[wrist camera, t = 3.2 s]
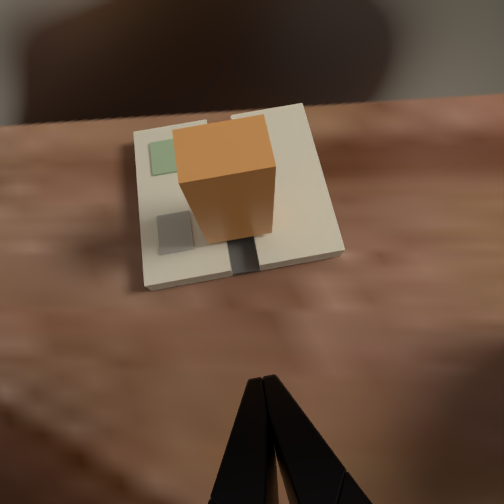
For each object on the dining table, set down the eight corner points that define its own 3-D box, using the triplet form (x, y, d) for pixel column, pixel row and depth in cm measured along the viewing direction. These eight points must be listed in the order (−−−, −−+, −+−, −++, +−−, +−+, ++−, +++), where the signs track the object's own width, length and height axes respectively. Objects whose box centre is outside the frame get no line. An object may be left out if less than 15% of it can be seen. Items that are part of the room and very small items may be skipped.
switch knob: (271, 238, 23) (276, 166, 14) (210, 249, 23) (178, 183, 14) (263, 202, 24) (263, 114, 15) (205, 213, 24) (172, 130, 15)
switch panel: (340, 256, 23) (345, 248, 22) (151, 290, 23) (143, 285, 22) (300, 116, 28) (302, 101, 26) (140, 143, 27) (132, 130, 26)
